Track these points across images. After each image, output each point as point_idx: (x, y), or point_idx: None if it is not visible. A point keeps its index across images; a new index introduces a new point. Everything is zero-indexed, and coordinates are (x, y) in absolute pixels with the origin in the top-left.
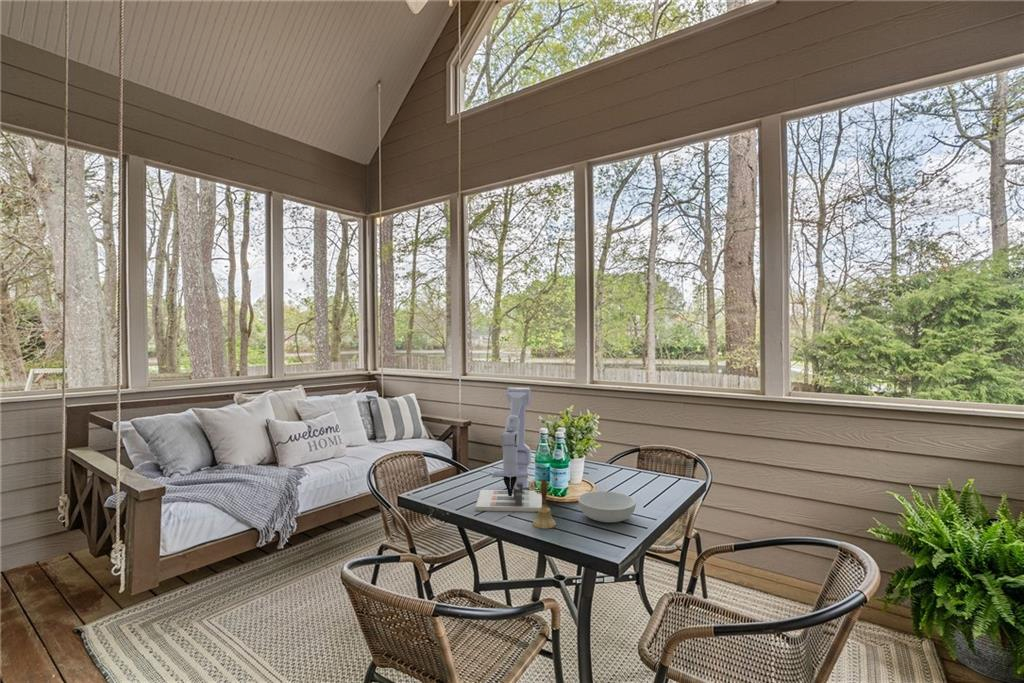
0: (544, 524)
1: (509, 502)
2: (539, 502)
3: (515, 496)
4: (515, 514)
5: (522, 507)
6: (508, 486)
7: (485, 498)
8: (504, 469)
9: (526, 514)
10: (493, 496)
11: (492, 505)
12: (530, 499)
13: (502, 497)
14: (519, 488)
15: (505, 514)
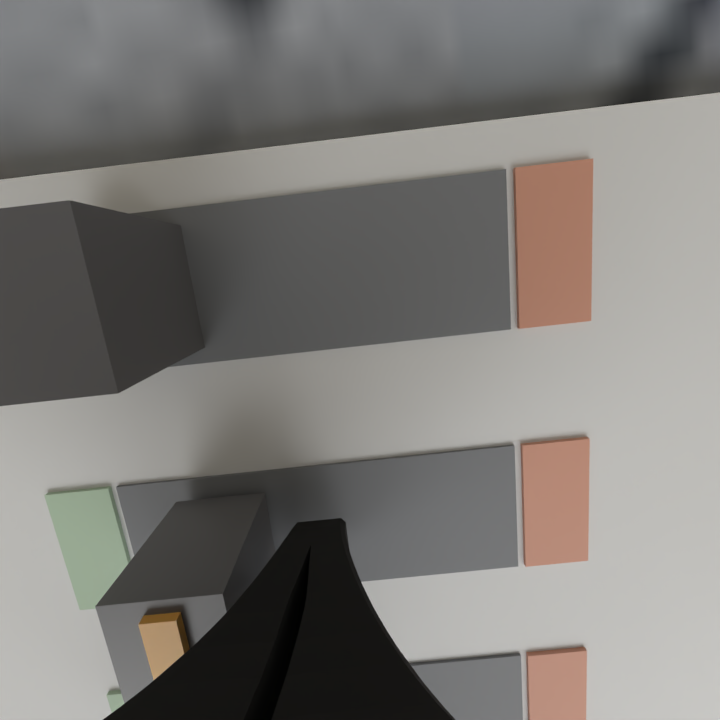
0: None
1: (302, 349)
2: None
3: (229, 512)
4: (163, 39)
5: (57, 175)
6: (326, 633)
7: (678, 467)
8: None
9: (7, 68)
10: (570, 548)
11: (551, 165)
12: (38, 522)
13: (438, 531)
14: (121, 671)
15: (308, 13)
